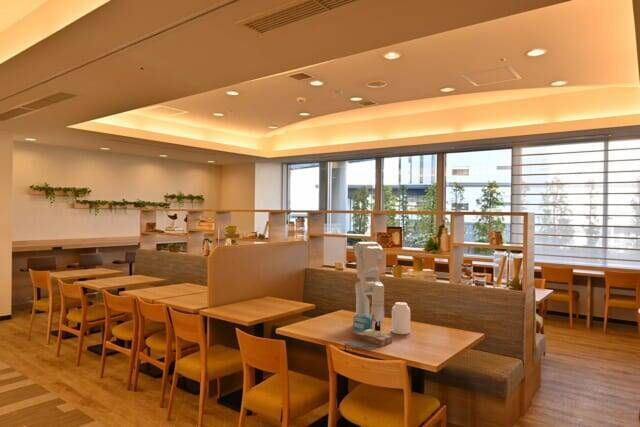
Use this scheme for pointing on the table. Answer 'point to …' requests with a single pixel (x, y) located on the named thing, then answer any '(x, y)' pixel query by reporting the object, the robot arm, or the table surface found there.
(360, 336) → the block
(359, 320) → the data package
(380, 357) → the table surface
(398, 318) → the can
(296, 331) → the table surface
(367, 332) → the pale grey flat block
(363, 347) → the mat
